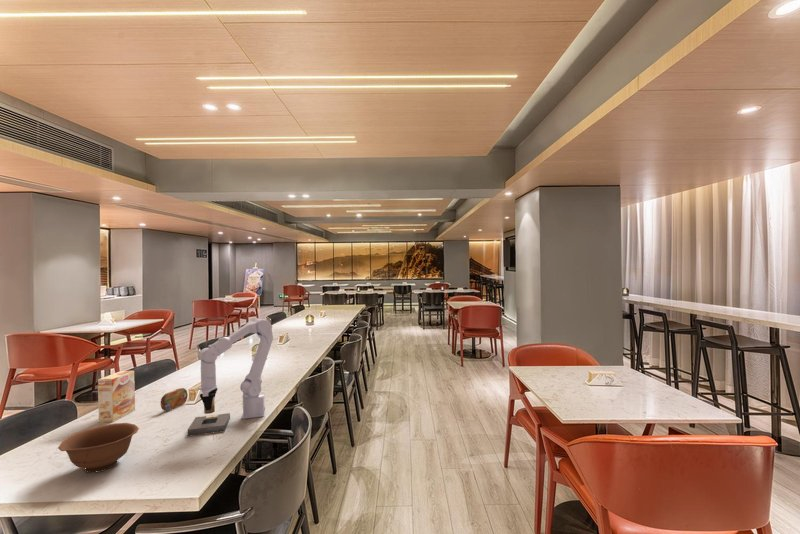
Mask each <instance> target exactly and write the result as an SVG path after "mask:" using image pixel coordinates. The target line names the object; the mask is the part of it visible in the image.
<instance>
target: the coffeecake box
mask: <svg viewBox="0 0 800 534" xmlns="http://www.w3.org/2000/svg"><path fill="white" fill-rule="evenodd" d="M135 385H136V384H135V370H120V371H118V372H114V373H112V374H110V375H109V374H108V375H106V376H103V377H101V378H98V379H97V396H98V404H97V405H98V423H114V422H116V421H118V420H119V418H120V419H121V418H123V417H124V416H127V415H129V414H130V412H131V413H133V412H134V411H136V396H135V394H136V393H135V392H136V389H135V387H136V386H135ZM133 410H134V411H133ZM128 413H129V414H128ZM126 414H127V415H126Z"/></svg>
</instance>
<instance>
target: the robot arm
mask: <svg viewBox="0 0 800 534" xmlns="http://www.w3.org/2000/svg"><path fill="white" fill-rule="evenodd" d="M249 334H256V335H257V337H258V338H259V342H258V345H257V349H256V352H255V353H254V354H255V355H254V358H253V361H252V362H251V367H250V368H249V369H250V370H249V373H247V374H246V376H245V378H244V379H243V381H242V382H241V384H240V387H239V388H240V391H241V392H242V416H241V420H244V419H245V420H246V419H252V418H253V419H254V418H260V417H261V418H262V417H265V411H266V406H265V394H261V392H262V382H263V381H262V373H263V370H264V368H265V365H266V361H267V358H268V355H269V352H270V349H271V345H272V343H273V341H274V335H273V325H272V324H271V322H270V321H269V319H261V318H259V317H255V318H253V319H251V320H250V321H248V322H247V323H246V324H244V325H243V326H242V327H239V329H238V330H236V331H234V332H233V333H232V334H230V335H229V336H223V337H222V336H220V337H219V338H218V339H217V340H216V341H215V342H214V343H212V344H209V345H208V347H205V348H202V349H201V350H200V351H199V353H198V359H199V360H200V386H199V387H198V388H197V390H198V391H201V392H202V393H200V395H199V398H200V399H201V401H202V403H203V408H204V407H205V410H206V411H207V410H211V408H212V401H213V397H214V400H215V398H216V394H217V392H218V390H219V389H218V386H217V371H216V370H217V369H216V368H217V367H216V361H217V360H218V357H220V356H221V355H222V354H224V353H225V352H226V351H228V350H230V349H231V348H232V347H233V343H235V342H237V341H239V340H241V339H242V338H244V337H245V336H247V335H249Z"/></svg>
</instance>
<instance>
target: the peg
mask: <svg viewBox="0 0 800 534" xmlns="http://www.w3.org/2000/svg"><path fill="white" fill-rule="evenodd" d="M215 404H216V403H215V399H214V397H213V401H212V408H211V410H207V411H206V410H205V407H204V406H203V413H204V414H205V415H206V414H207V415H208V414H209V415H210V414H213V413H215V410H216V409H215V408H216V407H215Z"/></svg>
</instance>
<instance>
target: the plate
mask: <svg viewBox="0 0 800 534" xmlns="http://www.w3.org/2000/svg"><path fill="white" fill-rule="evenodd" d="M230 420H231V413H228V412H227V413H220V414H213V415H212V414H211V415H204V416H195V417H194V419H193V421H192V422H191V424H190V426H189V427H188V428H187V437H191V436H190V435H192V436H198V434H199V435H206V434H205V433H207V434H213V432H214V433H221V432H220V431H222V432H225V431H226V430H227V428H228V424H229V422H230Z"/></svg>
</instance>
